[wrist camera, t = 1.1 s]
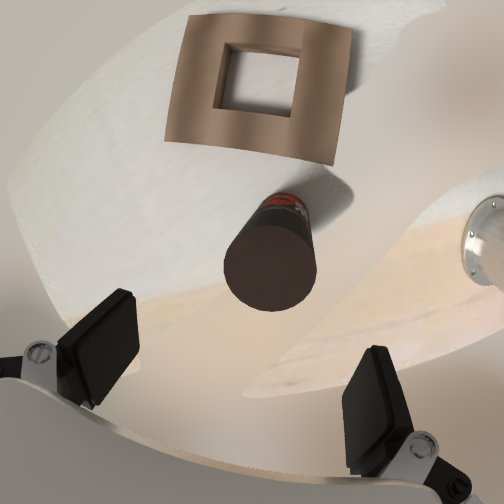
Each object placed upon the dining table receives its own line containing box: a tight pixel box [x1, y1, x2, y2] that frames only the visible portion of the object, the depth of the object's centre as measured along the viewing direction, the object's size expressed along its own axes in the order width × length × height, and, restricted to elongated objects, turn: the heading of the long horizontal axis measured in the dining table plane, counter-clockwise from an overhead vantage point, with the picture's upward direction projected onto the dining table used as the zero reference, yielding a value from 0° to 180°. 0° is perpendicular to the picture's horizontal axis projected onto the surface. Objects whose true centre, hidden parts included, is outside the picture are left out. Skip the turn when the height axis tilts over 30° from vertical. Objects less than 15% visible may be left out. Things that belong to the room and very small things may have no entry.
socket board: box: [164, 14, 352, 166], centre depth 25 cm, size 18×16×3 cm
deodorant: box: [224, 193, 317, 312], centre depth 24 cm, size 6×6×15 cm
